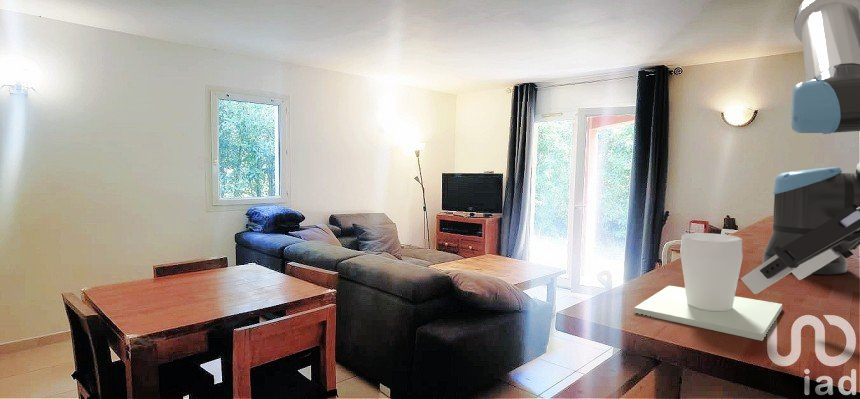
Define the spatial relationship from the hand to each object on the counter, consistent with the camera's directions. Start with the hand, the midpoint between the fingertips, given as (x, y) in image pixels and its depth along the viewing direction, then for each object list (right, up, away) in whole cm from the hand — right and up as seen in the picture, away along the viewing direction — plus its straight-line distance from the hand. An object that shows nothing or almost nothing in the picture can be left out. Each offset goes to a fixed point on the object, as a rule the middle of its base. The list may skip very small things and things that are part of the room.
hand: (771, 279), depth 67 cm
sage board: (-4, -7, +9) cm, 12 cm away
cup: (-4, -6, +9) cm, 12 cm away
